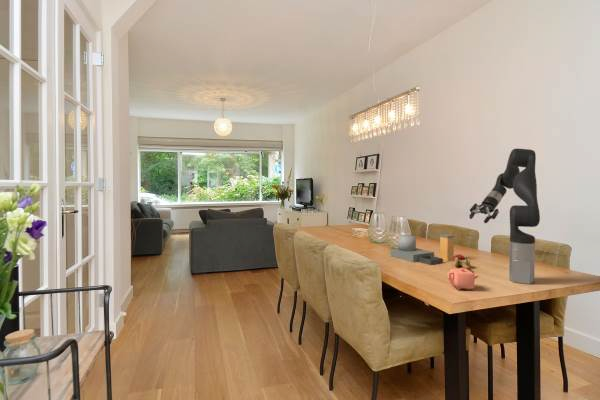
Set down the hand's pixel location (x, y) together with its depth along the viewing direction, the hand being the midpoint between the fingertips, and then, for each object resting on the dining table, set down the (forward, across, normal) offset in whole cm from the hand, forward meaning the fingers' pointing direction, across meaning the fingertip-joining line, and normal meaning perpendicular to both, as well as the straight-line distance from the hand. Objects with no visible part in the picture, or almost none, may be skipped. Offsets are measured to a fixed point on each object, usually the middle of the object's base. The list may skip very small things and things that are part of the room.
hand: (477, 220), depth 192 cm
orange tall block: (+29, -3, +4) cm, 29 cm away
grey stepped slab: (+39, -13, -3) cm, 41 cm away
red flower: (+35, +13, -6) cm, 37 cm away
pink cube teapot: (+54, +30, -30) cm, 68 cm away
